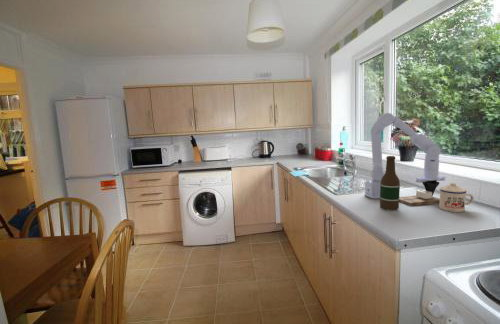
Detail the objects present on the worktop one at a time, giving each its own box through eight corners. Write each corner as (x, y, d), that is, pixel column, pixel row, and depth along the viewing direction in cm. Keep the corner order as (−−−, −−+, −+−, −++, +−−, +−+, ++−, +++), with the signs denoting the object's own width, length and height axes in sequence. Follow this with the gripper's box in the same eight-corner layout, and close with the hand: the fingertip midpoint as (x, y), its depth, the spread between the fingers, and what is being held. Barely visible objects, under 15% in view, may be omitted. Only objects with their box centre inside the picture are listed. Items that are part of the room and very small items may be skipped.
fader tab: (424, 198, 119) (424, 192, 118) (416, 196, 124) (416, 190, 123) (431, 198, 119) (432, 192, 119) (423, 195, 124) (423, 189, 124)
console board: (410, 206, 115) (410, 202, 115) (394, 200, 125) (394, 197, 125) (443, 202, 118) (443, 199, 118) (425, 197, 128) (425, 194, 127)
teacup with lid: (443, 211, 106) (444, 185, 104) (435, 205, 114) (436, 180, 113) (478, 213, 102) (480, 186, 100) (467, 207, 110) (469, 181, 109)
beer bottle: (396, 206, 116) (398, 155, 113) (401, 211, 108) (403, 157, 105) (378, 205, 118) (379, 155, 115) (381, 210, 111) (382, 157, 108)
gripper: (425, 170, 115) (423, 199, 117) (451, 168, 117) (450, 196, 119) (413, 168, 122) (411, 195, 124) (438, 166, 124) (436, 193, 126)
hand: (429, 195), depth 122 cm, fingers closed
